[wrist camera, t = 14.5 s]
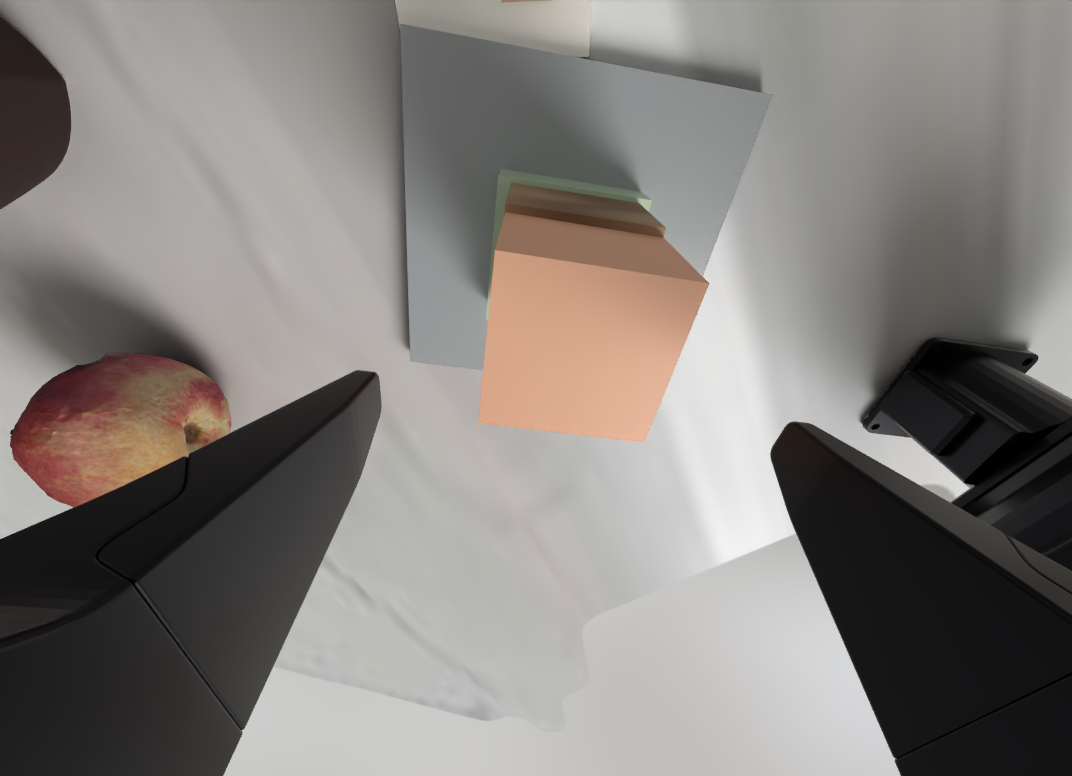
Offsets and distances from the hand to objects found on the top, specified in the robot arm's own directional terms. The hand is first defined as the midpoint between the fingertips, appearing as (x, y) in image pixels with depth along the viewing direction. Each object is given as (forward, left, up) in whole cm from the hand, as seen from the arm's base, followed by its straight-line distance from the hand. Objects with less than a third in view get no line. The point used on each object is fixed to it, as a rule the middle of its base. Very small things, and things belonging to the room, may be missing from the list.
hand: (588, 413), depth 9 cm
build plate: (0, 0, -13) cm, 13 cm away
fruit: (+20, +11, -13) cm, 26 cm away
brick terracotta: (0, 0, -6) cm, 6 cm away
